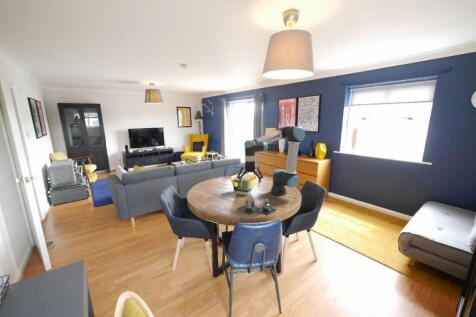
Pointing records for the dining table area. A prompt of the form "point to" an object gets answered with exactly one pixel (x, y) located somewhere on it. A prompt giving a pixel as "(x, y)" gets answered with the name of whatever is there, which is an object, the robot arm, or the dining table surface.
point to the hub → (249, 208)
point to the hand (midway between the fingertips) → (250, 186)
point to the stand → (266, 208)
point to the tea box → (245, 186)
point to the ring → (249, 202)
